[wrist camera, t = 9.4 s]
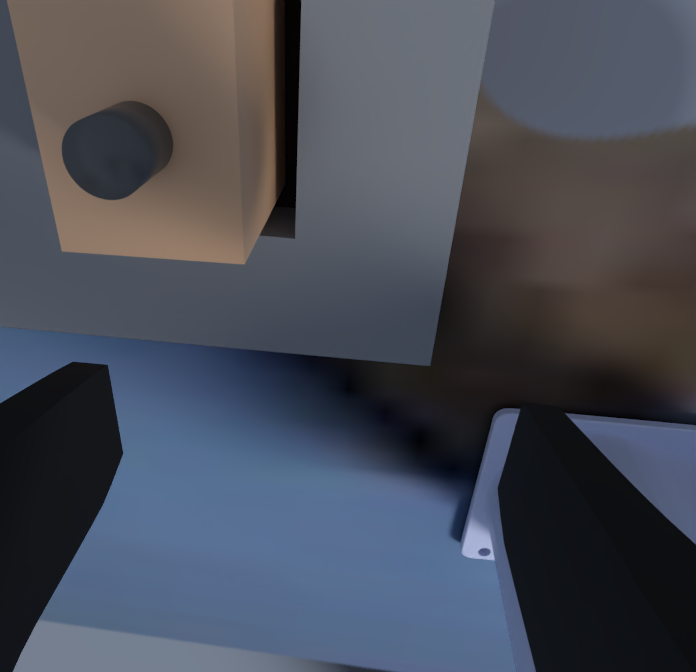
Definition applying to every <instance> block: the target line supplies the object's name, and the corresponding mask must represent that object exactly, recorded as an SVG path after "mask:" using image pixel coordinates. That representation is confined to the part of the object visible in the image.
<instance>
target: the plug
mask: <svg viewBox="0 0 696 672" xmlns="http://www.w3.org/2000/svg"><path fill="white" fill-rule="evenodd" d="M7 3H8V8H9V12H10V17H11V21H12V26H13V31H14V35H15V40H16V44H17V49H18V53H19V58H20V63H21V67H22V72H23V76H24V81H25V85H26V90H27V94H28V99H29V104H30V108H31V113H32V117H33V122H34V126H35V131H36V136H37V140H38V145H39V149H40V154H41V158H42V163H43V168H44V172H45V177H46V181H47V186H48V190H49V195H50V199H51V204H52V209H53V213H54V218H55V222H56V227H57V231H58V236H59V241H60V245H61V250H62V252H76V253H90V254H104V255H118V256H132V257H146V258H160V259H174V260H188V261H202V262H216V263H230V264H244V265H245V263H246V261H247V259H248V257H249V255H250V253H251V251H252V249H253V247H254V245H255V243H256V241H257V239H258V237H259V235H260V233H261V231H262V229H263V227H264V225H265V223H266V221H267V219H268V217H269V215H270V213H271V211H272V210H273V208H274V206H275V204H276V202H277V200H278V198H279V196H280V194H281V192H282V190H283V188H284V186H285V0H7Z"/></svg>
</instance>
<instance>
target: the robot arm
mask: <svg viewBox="0 0 696 672" xmlns="http://www.w3.org/2000/svg"><path fill="white" fill-rule="evenodd" d="M122 455H123V450H122V444H121V439H120V433H119V427H118V421H117V416H116V410H115V404H114V398H113V393H112V387H111V381H110V375H109V370H108V365H102V364H91V363H80V362H72V363H70V364H68V365H66V366H64V367H62V368H60V369H58V370H56V371H55V372H53V373H51V374H49V375H48V376H46V377H44V378H42V379H41V380H39V381H37V382H36V383H34V384H32V385H30V386H29V387H27V388H25V389H24V390H22V391H20V392H19V393H17V394H15V395H14V396H12V397H10V398H9V399H7V400H5V401H4V402H2V403H0V672H13V670H14V667H15V665H16V663H17V661H18V658H19V656H20V654H21V652H22V650H23V648H24V646H25V644H26V642H27V640H28V638H29V636H30V635H31V632H32V630H33V629H34V627H35V625H36V623H37V621H38V619H39V618H40V616H41V614H42V612H43V611H44V609H45V607H46V605H47V604H48V602H49V600H50V598H51V597H52V595H53V593H54V591H55V589H56V588H57V586H58V584H59V582H60V581H61V579H62V577H63V575H64V574H65V572H66V570H67V568H68V566H69V565H70V563H71V561H72V559H73V558H74V556H75V554H76V552H77V551H78V549H79V547H80V545H81V543H82V542H83V540H84V538H85V536H86V534H87V533H88V531H89V529H90V527H91V525H92V524H93V522H94V520H95V518H96V516H97V515H98V513H99V511H100V509H101V507H102V505H103V503H104V501H105V498H106V496H107V493H108V491H109V489H110V486H111V484H112V481H113V479H114V476H115V474H116V471H117V468H118V466H119V463H120V460H121V458H122ZM460 547H461V552H462V554H463V555H464V556H466V557H469V558H477V559H488V560H495V564H496V569H497V574H498V579H499V584H500V590H501V595H502V600H503V605H504V610H505V616H506V621H507V626H508V631H509V637H510V642H511V647H512V652H513V657H514V663H515V668H516V672H696V425H688V424H677V423H666V422H656V421H645V420H634V419H623V418H612V417H601V416H590V415H579V414H568V413H564V412H563V411H562V410H561V409H560V408H559V407H558V406H548V405H538V404H527V403H522V405H521V409H514V408H504V409H501V410H499V411H498V412H496V413H495V415H494V417H493V420H492V423H491V427H490V431H489V435H488V439H487V443H486V446H485V450H484V454H483V458H482V462H481V466H480V469H479V473H478V477H477V481H476V485H475V489H474V493H473V496H472V500H471V504H470V508H469V512H468V516H467V519H466V523H465V527H464V531H463V535H462V539H461V542H460ZM482 548H483V549H482Z"/></svg>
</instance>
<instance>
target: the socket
mask: <svg viewBox="0 0 696 672" xmlns="http://www.w3.org/2000/svg"><path fill="white" fill-rule="evenodd" d="M494 3H495V0H301V33H300V71H299V109H298V147H297V185H296V208H290V207H279V206H274V208H273V210H272V211H271V213H270V215H269V217H268V219H267V221H266V223H265V225H264V227H263V229H262V231H261V233H260V235H259V237H258V239H257V241H256V243H255V245H254V247H253V249H252V251H251V253H250V255H249V257H248V259H247V261H246V263H245V265H244V264H230V263H216V262H202V261H188V260H174V259H160V258H146V257H132V256H118V255H104V254H90V253H76V252H62V250H61V245H60V241H59V236H58V231H57V227H56V222H55V218H54V213H53V209H52V204H51V199H50V195H49V190H48V186H47V181H46V177H45V172H44V168H43V163H42V158H41V154H40V149H39V145H38V140H37V136H36V131H35V126H34V122H33V117H32V113H31V108H30V104H29V99H28V94H27V90H26V85H25V81H24V76H23V72H22V67H21V63H20V58H19V53H18V49H17V44H16V40H15V35H14V31H13V26H12V21H11V17H10V12H9V8H8V3H7V0H0V327H7V328H18V329H29V330H40V331H51V332H62V333H73V334H84V335H94V336H105V337H116V338H127V339H138V340H149V341H160V342H171V343H182V344H193V345H204V346H215V347H226V348H237V349H248V350H259V351H270V352H281V353H292V354H302V355H313V356H324V357H335V358H346V359H357V360H368V361H379V362H390V363H401V364H412V365H423V366H430V364H431V358H432V353H433V347H434V341H435V336H436V330H437V325H438V319H439V313H440V308H441V302H442V296H443V291H444V285H445V279H446V274H447V268H448V262H449V257H450V251H451V246H452V240H453V234H454V229H455V223H456V217H457V212H458V206H459V200H460V195H461V189H462V183H463V178H464V172H465V166H466V161H467V155H468V150H469V144H470V138H471V133H472V127H473V121H474V116H475V110H476V104H477V99H478V93H479V87H480V82H481V76H482V71H483V65H484V59H485V53H486V48H487V42H488V36H489V31H490V25H491V19H492V14H493V8H494Z"/></svg>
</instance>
